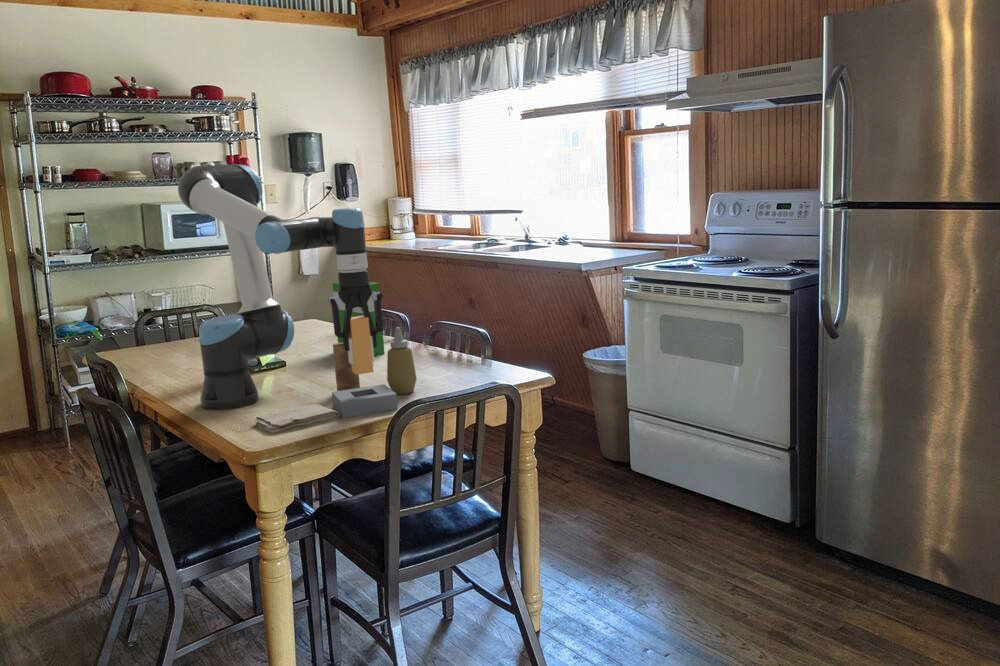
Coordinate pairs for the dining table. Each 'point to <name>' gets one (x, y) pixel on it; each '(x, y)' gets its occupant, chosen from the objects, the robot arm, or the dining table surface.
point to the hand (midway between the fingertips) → (361, 361)
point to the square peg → (361, 345)
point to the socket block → (364, 400)
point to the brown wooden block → (344, 369)
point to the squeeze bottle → (400, 365)
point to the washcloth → (295, 418)
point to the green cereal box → (358, 312)
